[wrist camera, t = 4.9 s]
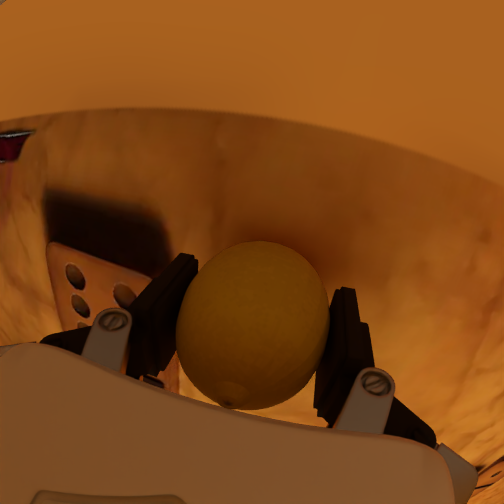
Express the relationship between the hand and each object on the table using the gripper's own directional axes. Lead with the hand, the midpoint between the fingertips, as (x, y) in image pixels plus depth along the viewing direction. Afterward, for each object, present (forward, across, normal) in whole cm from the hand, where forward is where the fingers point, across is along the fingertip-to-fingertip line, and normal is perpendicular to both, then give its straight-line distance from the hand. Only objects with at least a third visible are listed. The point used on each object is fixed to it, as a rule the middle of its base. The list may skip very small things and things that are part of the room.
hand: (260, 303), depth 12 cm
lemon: (+3, 0, 0) cm, 3 cm away
